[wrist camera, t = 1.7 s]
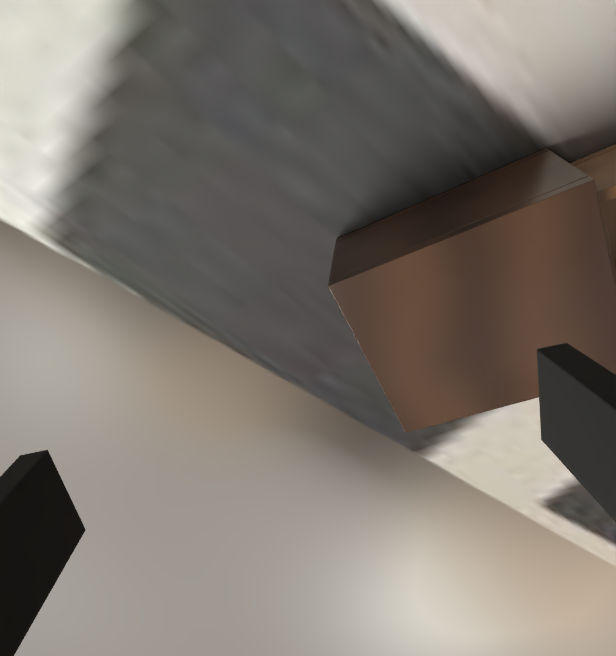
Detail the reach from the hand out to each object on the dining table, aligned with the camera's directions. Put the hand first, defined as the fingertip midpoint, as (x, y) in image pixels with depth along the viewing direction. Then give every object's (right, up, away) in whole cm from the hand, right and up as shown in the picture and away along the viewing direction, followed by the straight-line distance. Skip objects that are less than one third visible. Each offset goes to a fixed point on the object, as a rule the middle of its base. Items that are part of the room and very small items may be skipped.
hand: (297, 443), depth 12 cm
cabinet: (+13, +8, +27) cm, 31 cm away
